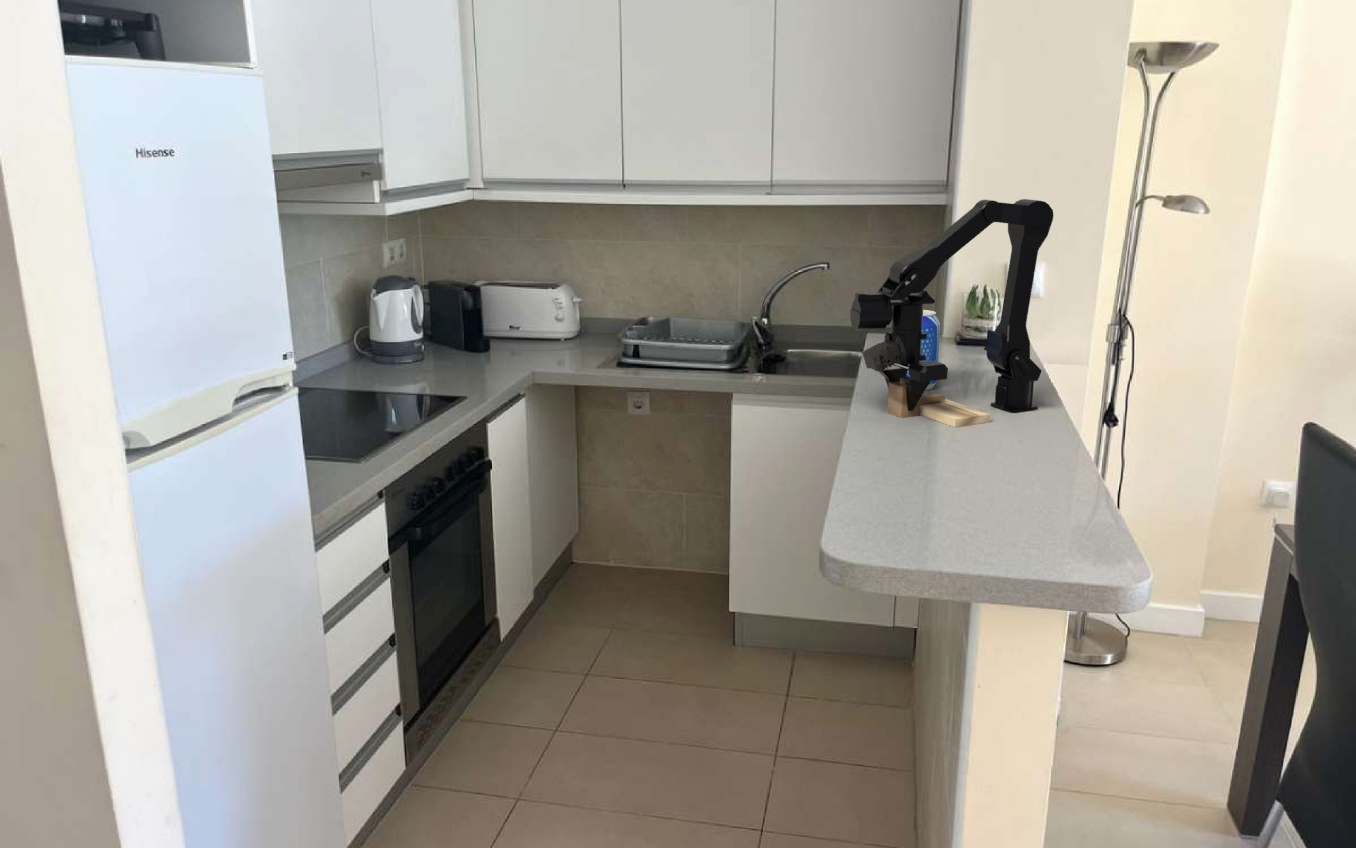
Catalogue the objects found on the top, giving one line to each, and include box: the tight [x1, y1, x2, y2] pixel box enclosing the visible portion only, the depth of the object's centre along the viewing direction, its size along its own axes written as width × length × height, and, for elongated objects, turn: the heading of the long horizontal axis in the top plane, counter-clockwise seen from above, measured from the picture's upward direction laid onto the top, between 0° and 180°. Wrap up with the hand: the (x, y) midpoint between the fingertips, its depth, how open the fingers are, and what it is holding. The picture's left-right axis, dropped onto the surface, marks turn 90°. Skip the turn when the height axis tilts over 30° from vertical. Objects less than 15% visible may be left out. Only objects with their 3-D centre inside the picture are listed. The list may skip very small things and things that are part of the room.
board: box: [918, 398, 991, 428], centre depth 191 cm, size 8×16×2 cm, turn 24°
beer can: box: [906, 309, 941, 391], centre depth 211 cm, size 8×8×16 cm
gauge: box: [886, 378, 946, 419], centre depth 193 cm, size 11×4×7 cm, turn 114°
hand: (903, 407), depth 192 cm, fingers closed on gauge, 4 cm apart
